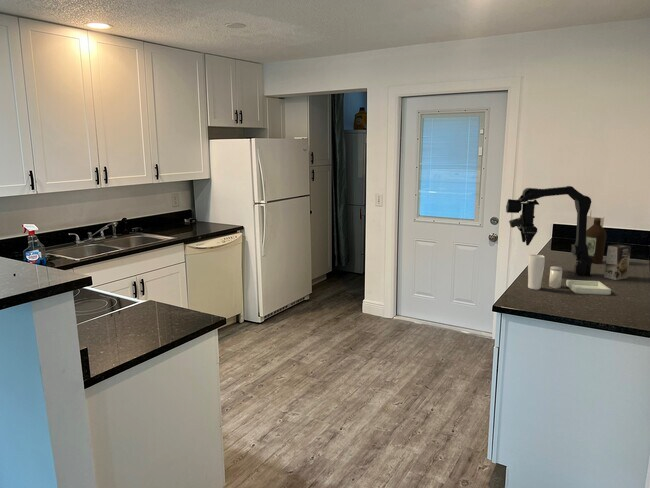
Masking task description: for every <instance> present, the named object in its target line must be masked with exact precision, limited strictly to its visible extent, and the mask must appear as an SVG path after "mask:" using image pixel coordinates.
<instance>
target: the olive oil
mask: <svg viewBox="0 0 650 488" xmlns="http://www.w3.org/2000/svg"><path fill="white" fill-rule="evenodd" d="M601 218H602V217H596V218H594V224H593V225H592V226H591V227H590V228H589V229H587V231H586V244H587V248H588V253H589V257H590V258H591V259H592V260H593V262H592V263H594V264H596V265H600V264H599V263H601V264H603V260H604V254H605V248H606V242H607V238H608V237H607V235H608V233H607V231H606V230H605V228H604V227H603V228H602V226H601V225H600V223H601Z"/></svg>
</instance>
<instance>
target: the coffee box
mask: <svg viewBox="0 0 650 488" xmlns="http://www.w3.org/2000/svg"><path fill="white" fill-rule="evenodd" d="M631 250H632V246H631V245H626V244H611V245H607V251H606V258H605V260H606V261H605V269H604V274H603V275H604V276H603V277H604V278H606V279H609V280H610V279H611V280H614V281H618V280H620V281H621V280H624V279H628V273H629V267H630V265H629V264H630V257H631Z"/></svg>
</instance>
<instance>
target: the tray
mask: <svg viewBox="0 0 650 488" xmlns="http://www.w3.org/2000/svg"><path fill="white" fill-rule="evenodd" d="M565 283H566V284H565V285H566V286H567V287H568V288H569V289H570V290H572V292H573V293H575V294H582V295H597V296H598V295H601V296H611V293H612V289H611V288H610V287H608V286H607V285H605V284H604V283H602V282H601V281H599V280H578V279H577V280H576V279H566V282H565Z"/></svg>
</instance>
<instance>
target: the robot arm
mask: <svg viewBox="0 0 650 488" xmlns="http://www.w3.org/2000/svg"><path fill="white" fill-rule="evenodd" d="M564 195H567V196H568V197H569V198H570V199H572V200H573V201H574V207H575V211H576V234H575V235H576V236H575V243H574V244H571V249H570V250H571V251H570V253H572V256H573V257H574V258H575V261H576V262H575V264H574V270H573V273H574V274H575V275H577V276H580V277H581V276H584V277H591V276H592V274H591V272H592V271H591V270H592V265H593V264H592V262H593V260H592V259H591V258H590V257H589V253H588V248H587V244H586V229H587V216H588V213H589V211H590V209H591V206H592V198H591V197H590V196H588V195H584V194H583V193H581V192H580V191H579V190H577V189H575V188H574V186H571V185H566V186H560V187H559V186H558V187H550V188H549V187H548V188H536V187H526V188H524V189H523V190H522V194H521V195H520V197H518V199H511V198H508V199H507V202H506V205H505V212H506V213H507V214H509V213H510V214H519V213H520V212H521V214H520V216H519V217H517V218H514V219H510V220H509V221H508V222H509V226H510V228H517V230H519V232H520V236H521V242H522V243H525V246H530V245H531V244H530V243H531V242H532V240H533V238H534V237H535V236H536V234H537V233H538V228H537V226H535V224H534V220H535V219H536V218H535V217H536V215H535V206H537V205H540V202H538V199H541V198H544V197H552V196H553V197H554V196H564ZM534 218H535V219H534Z"/></svg>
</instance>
